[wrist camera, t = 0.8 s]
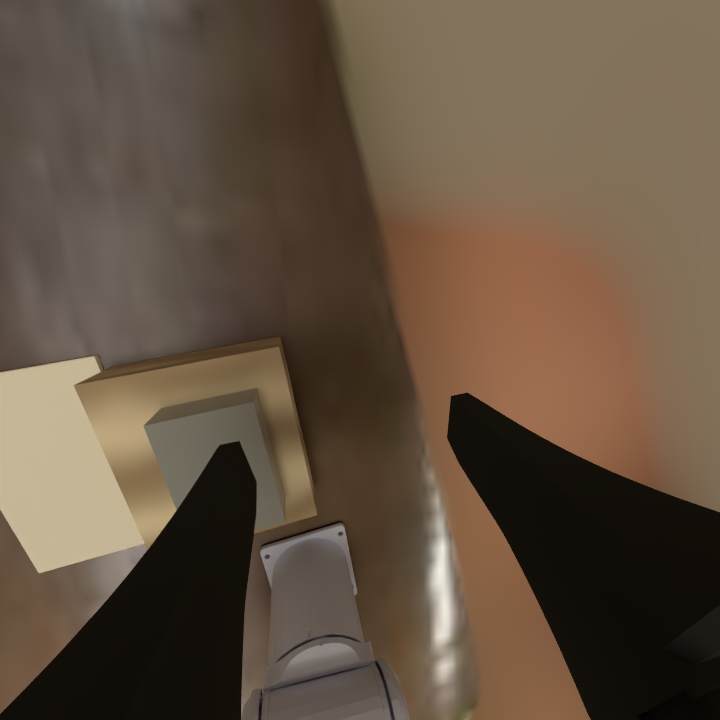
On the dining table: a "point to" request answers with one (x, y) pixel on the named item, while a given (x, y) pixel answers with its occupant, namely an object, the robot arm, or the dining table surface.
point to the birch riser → (186, 384)
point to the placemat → (58, 469)
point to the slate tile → (203, 436)
